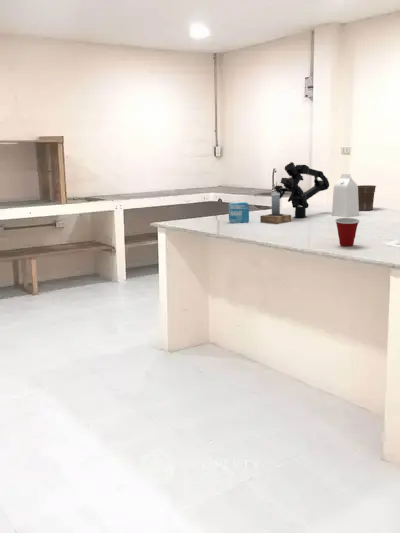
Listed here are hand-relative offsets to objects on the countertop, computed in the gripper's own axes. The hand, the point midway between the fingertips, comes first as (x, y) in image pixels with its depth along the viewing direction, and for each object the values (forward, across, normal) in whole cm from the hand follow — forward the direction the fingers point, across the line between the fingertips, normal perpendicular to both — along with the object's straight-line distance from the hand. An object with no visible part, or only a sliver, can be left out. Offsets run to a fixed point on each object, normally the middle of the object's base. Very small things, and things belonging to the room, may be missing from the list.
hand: (282, 201), depth 345 cm
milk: (-19, +18, +37) cm, 45 cm away
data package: (+23, -17, -6) cm, 29 cm away
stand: (+13, 0, +4) cm, 14 cm away
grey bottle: (+10, 0, +1) cm, 10 cm away
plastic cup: (+41, +79, -25) cm, 92 cm away
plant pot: (-40, +11, +58) cm, 72 cm away
